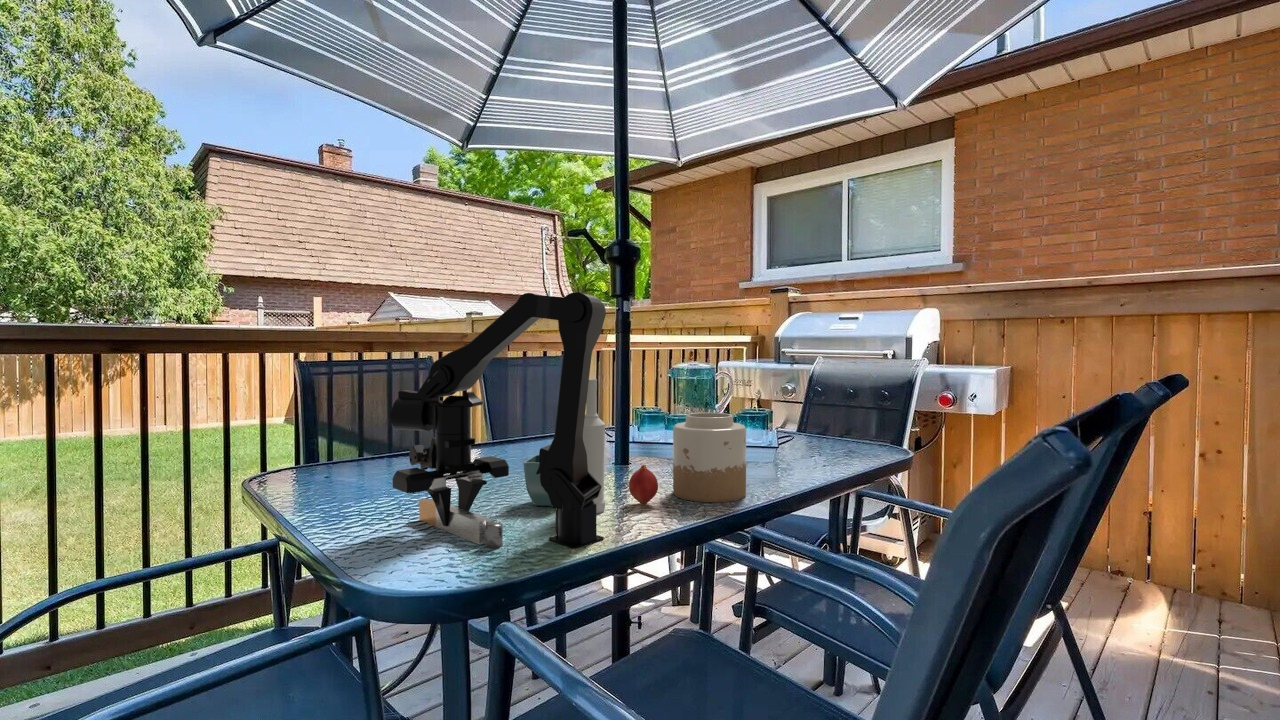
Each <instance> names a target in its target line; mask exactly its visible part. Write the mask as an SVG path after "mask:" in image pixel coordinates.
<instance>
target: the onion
mask: <svg viewBox="0 0 1280 720" xmlns="http://www.w3.org/2000/svg"><path fill="white" fill-rule="evenodd" d="M628 489H629V490H628V491H629V493H630V495H631V496H632V498H633V499H634V500H636V501H637V502H638V503H639V504H640V505H642V506H645V505H647V504H648V503H649V502H650V501H651V500H653V498H654V497H656V495H657V493H658V490H659V484H658V480H657V477H656V475H655V474H654V473H653V472H652V471H651V470H650V469H649V468H647V465H646V464H641V466H640V468H638V469H637V470H636V471H635V472H633V474H632V475H631V476H630V479H629V482H628Z"/></svg>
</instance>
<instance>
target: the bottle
mask: <svg viewBox="0 0 1280 720" xmlns="http://www.w3.org/2000/svg"><path fill="white" fill-rule="evenodd" d="M597 382H598V379H597V378H589V383H588V392H587V401H586V410H585V419H584V428H583V442H584V445H585V449H586V453H587V465H588V472H589V473H590V474H591V475H592V476H593V477H594V478H595V479H596V481H597V482H598V483H599V484H600V485H601V490H600V493H599V496H598V497H597V498H595V499H594V500H592V501H594V504H596V515H597V514H602V513H604V512H605V509H606V500H605V455H606V454H605V452H606V451H605V448H606V447H605V446H606V443H605V442H606V441H605V439H606V424H605V422H604V421H603V420H602V419H601V418H599V414H598V413H597V405H598V404H597V390H598V383H597Z"/></svg>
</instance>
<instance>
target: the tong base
mask: <svg viewBox="0 0 1280 720" xmlns="http://www.w3.org/2000/svg"><path fill="white" fill-rule="evenodd" d="M429 500H431V501H433V499H432V498H431V499H429ZM450 508H453V509H456V510H459V511H461V512H464V513H467V514H470V515H472V516H475V517H478V518H481V519H484V520H486V525H485V538H486V543H485V548H486V549H488V550H491V549H492V550H493V549H494V550H495V549H499V548H502V547H503V545H504V541H503V539H504V538H503V537H504V536H503V535H504V533H503V531H504V529H503V527H504V526H503V524H504V523H502V522H499V521H498V522H497V521H495V520H494V519H492V518H489V517H487V516H483V515H481V514H478V513H474V512H472V511H470V510H469V511H466V510H463V509H460V508H458V506H454V505H451V504H450Z"/></svg>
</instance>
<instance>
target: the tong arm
mask: <svg viewBox="0 0 1280 720" xmlns="http://www.w3.org/2000/svg"><path fill="white" fill-rule="evenodd" d="M418 502H419V503H418V504H419V505H418V506H419V507H418V510H419V512H418V513H419V516H418V517H419V521H421V522H423V523H426V524H428V525H431V526H433V527H436V528H437V529H441V530H443V531H445V532H448V533H450V534H452V535H455V536H458V537H459V538H462V539H465V540H467V541H469V542H471V543H475V544H477V545H479V546H481V545H484V544H485V545H486V538H485V525H486V520H484V519H481V518H478V517H475V516H472V515H470V514H467V513H464V512H461V511H459V510H456V509H453V508H450V517H449V523H448V526H444V525H443V524H442V521H441V519H440V516H439V514H438V511H437V508H436V506H435V503H434V501H431V500H430V499H427V498H422V499H421V498H420V499H419V501H418Z"/></svg>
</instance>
